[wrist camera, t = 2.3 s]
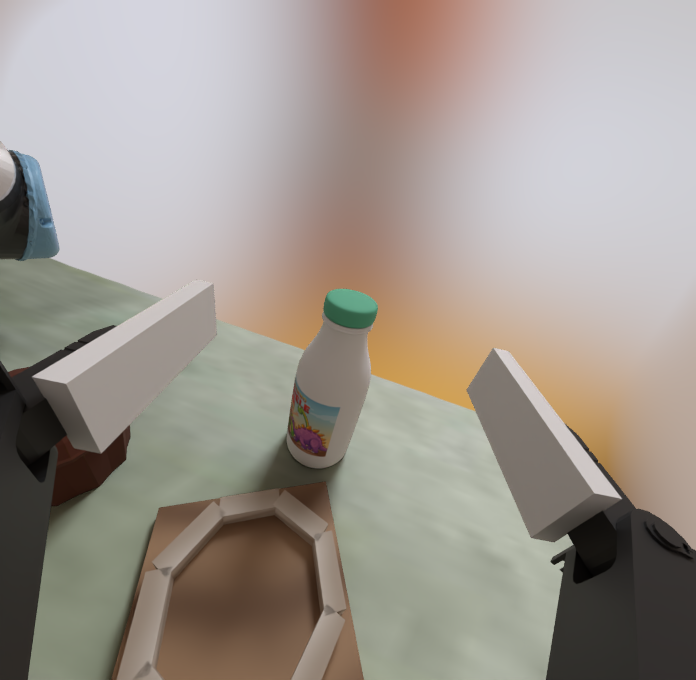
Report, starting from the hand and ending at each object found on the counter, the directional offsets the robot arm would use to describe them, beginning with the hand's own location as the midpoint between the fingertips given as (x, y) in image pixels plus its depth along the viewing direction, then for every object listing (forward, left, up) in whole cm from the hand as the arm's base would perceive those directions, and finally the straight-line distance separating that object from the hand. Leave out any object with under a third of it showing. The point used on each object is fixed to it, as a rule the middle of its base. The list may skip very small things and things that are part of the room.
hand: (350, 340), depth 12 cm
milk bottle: (-9, +3, -22) cm, 25 cm away
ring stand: (+4, -4, -22) cm, 23 cm away
